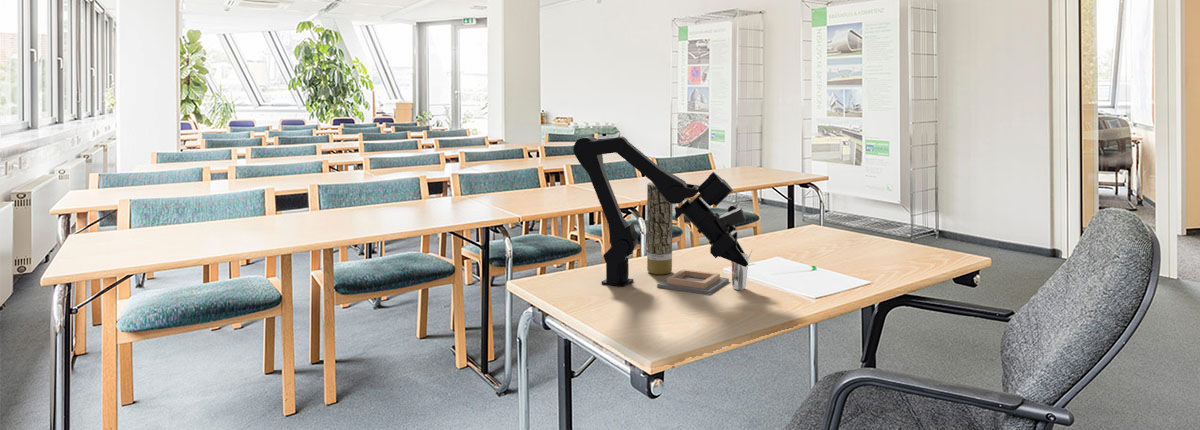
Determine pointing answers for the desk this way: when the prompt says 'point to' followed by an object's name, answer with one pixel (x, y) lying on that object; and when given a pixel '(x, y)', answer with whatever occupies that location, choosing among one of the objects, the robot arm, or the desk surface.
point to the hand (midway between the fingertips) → (747, 263)
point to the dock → (694, 281)
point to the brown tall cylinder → (658, 232)
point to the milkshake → (739, 274)
